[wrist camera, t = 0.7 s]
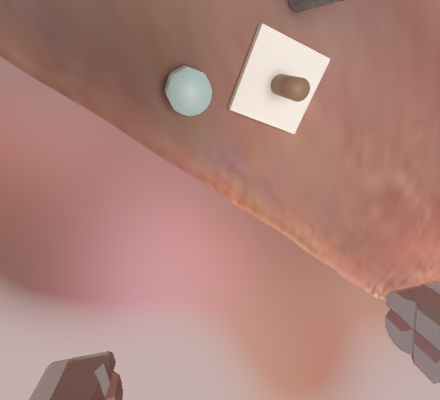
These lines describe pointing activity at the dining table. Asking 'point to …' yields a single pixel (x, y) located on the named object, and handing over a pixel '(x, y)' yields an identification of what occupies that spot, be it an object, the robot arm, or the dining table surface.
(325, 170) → the dining table surface
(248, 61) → the post stand
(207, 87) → the cap
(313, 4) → the hip flask
